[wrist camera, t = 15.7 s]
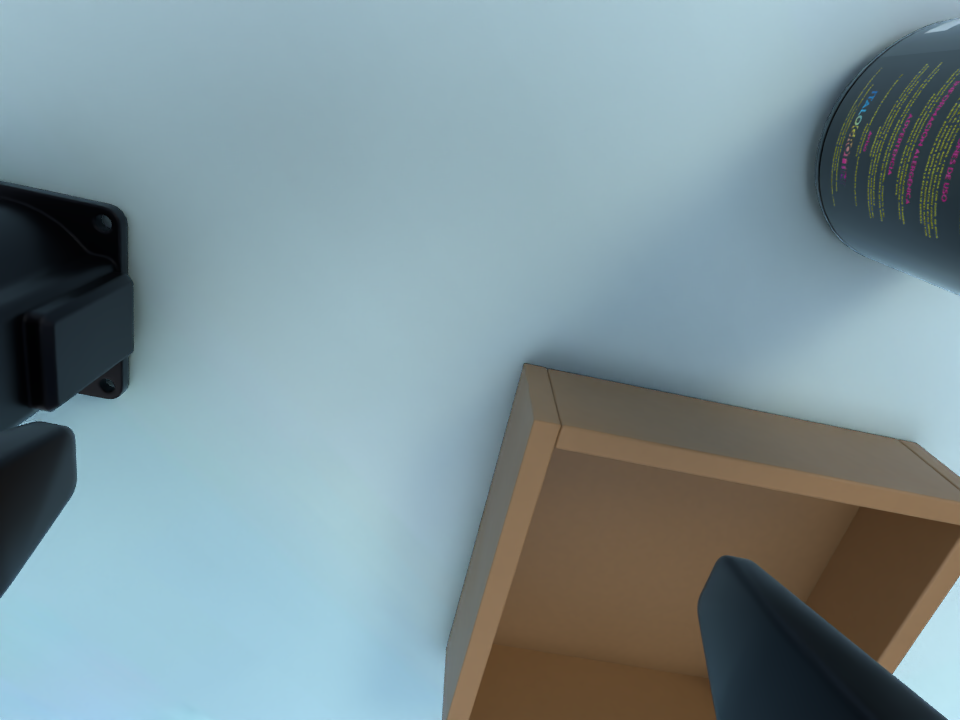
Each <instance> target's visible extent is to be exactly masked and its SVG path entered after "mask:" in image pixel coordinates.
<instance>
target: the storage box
mask: <svg viewBox="0 0 960 720" xmlns="http://www.w3.org/2000/svg"><path fill="white" fill-rule="evenodd" d="M724 555H729V556H735V557H740V558H745V559H749V560H751V561H753V562H755V563H756V564H757V565H758V566H760V567H761V568H762V569H763V570H764V571H766V572H767V573H768V574H769V575H771V576H772V577H773V578H774V579H776V580H777V581H778V582H779V583H780V584H782V585H783V586H784V587H785V588H787V589H788V590H789V591H790V592H792V593H793V594H794V595H795V596H796V597H798V598H799V599H800V600H801V601H803V602H804V603H805V604H806V605H808V606H809V607H810V608H811V609H812V610H814V611H815V612H816V613H817V614H819V615H820V616H821V617H822V618H824V619H825V620H826V621H827V622H828V623H830V624H831V625H832V626H833V627H835V628H836V629H837V630H838V631H839V632H841V633H842V634H843V635H844V636H846V637H847V638H848V639H849V640H851V641H852V642H853V643H854V644H855V645H857V646H858V647H859V648H860V649H862V650H863V651H864V652H865V653H867V654H868V655H869V656H870V657H871V658H873V659H874V660H875V661H876V662H878V663H879V664H880V665H881V666H883V667H884V668H885V669H886V670H887V671H889V672H890V673H891V674H893V672H894V671H895V669H896V668H897V667H898V665H899V664H900V662H901V661H902V659H903V658H904V656H905V655H906V653H907V652H908V650H909V649H910V648H911V646H912V645H913V643H914V642H915V640H916V639H917V637H918V636H919V634H920V633H921V631H922V630H923V629H924V627H925V626H926V624H927V623H928V621H929V620H930V618H931V617H932V615H933V614H934V613H935V611H936V610H937V608H938V607H939V605H940V604H941V602H942V601H943V599H944V598H945V596H946V595H947V594H948V592H949V591H950V589H951V588H952V586H953V585H954V583H955V582H956V580H957V579H958V578H959V576H960V477H959V476H958V475H956V474H955V473H954V472H953V471H951V470H950V469H949V468H948V467H946V466H945V465H944V464H943V463H941V462H940V461H939V460H937V459H936V458H935V457H934V456H932V455H931V454H930V453H929V452H927V451H926V450H925V449H923V448H922V447H921V446H920V445H918V444H917V443H914V442H909V441H904V440H897V439H894V438H889V437H884V436H879V435H874V434H869V433H864V432H859V431H854V430H849V429H844V428H839V427H835V426H830V425H825V424H820V423H815V422H810V421H805V420H800V419H795V418H790V417H785V416H780V415H775V414H770V413H765V412H761V411H756V410H751V409H746V408H741V407H736V406H731V405H726V404H721V403H716V402H711V401H706V400H701V399H696V398H691V397H686V396H682V395H677V394H672V393H667V392H662V391H657V390H652V389H647V388H642V387H637V386H632V385H627V384H622V383H617V382H612V381H607V380H603V379H598V378H593V377H588V376H583V375H578V374H573V373H568V372H563V371H558V370H553V369H546V368H545V367H541V366H536V365H531V364H526V363H524V365H523V369H522V372H521V376H520V380H519V383H518V387H517V391H516V394H515V398H514V402H513V405H512V409H511V413H510V416H509V420H508V424H507V427H506V431H505V435H504V438H503V442H502V446H501V449H500V453H499V457H498V460H497V464H496V468H495V471H494V475H493V479H492V482H491V486H490V490H489V493H488V497H487V501H486V504H485V508H484V512H483V515H482V519H481V523H480V526H479V530H478V534H477V537H476V541H475V545H474V548H473V552H472V556H471V559H470V563H469V567H468V570H467V574H466V578H465V581H464V585H463V589H462V592H461V596H460V600H459V603H458V607H457V611H456V614H455V618H454V622H453V625H452V629H451V633H450V636H449V640H448V644H447V647H446V659H445V676H444V694H443V711H442V720H717V719H716V714H715V709H714V705H713V699H712V694H711V688H710V682H709V677H708V671H707V665H706V660H705V654H704V648H703V643H702V637H701V631H700V626H699V620H698V613H697V605H698V600H699V596H700V594H701V592H702V590H703V588H704V586H705V583H706V581H707V579H708V577H709V575H710V573H711V571H712V569H713V567H714V565H715V563H716V561H717V560H718V559H719V558H720V557H721V556H724Z"/></svg>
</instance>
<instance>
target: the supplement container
mask: <svg viewBox="0 0 960 720" xmlns="http://www.w3.org/2000/svg"><path fill="white" fill-rule="evenodd" d="M815 184H816V191H817V196H818V201H819V204H820V207H821V210H822V212H823V214H824V216H825V219H826V221H827V223H828V224H829V226H830V228H831V229H832V231H833V232H834V233H835V234H836V236H837V237H838V238H839V239H840V240H841V241H842V242H843V243H844V244H845V245H846V246H848V247H849V248H851V249H852V250H853V251H855V252H857V253H858V254H860V255H862V256H864V257H867V258H869V259H872V260H874V261H876V262H879V263H881V264H884V265H886V266H889V267H891V268H893V269H896V270H898V271H901V272H903V273H906V274H908V275H910V276H913V277H915V278H918V279H920V280H922V281H925V282H927V283H930V284H932V285H935V286H937V287H939V288H942V289H944V290H947V291H949V292H952V293H954V294H956V295H959V296H960V18H954V19H949V20H945V21H941V22H937V23H934V24H931V25H928V26H925V27H923V28H921V29H919V30H916V31H914V32H912V33H910V34H908V35H907V36H905V37H903V38H901V39H899V40H898V41H896V42H895V43H893V44H892V45H891V46H889V47H888V48H886V49H885V50H884V51H883V52H881V53H880V54H879V55H878V56H876V57H875V58H874V59H873V60H872V61H870V62H869V63H868V64H867V65H866V66H865V67H864V68H863V69H862V70H861V71H860V72H859V73H858V74H857V76H856V77H855V78H854V79H853V80H852V81H851V82H850V84H849V85H848V86H847V88H846V89H845V90H844V92H843V93H842V94H841V96H840V98H839V99H838V101H837V102H836V104H835V106H834V107H833V109H832V111H831V113H830V115H829V117H828V119H827V122H826V124H825V126H824V129H823V132H822V135H821V138H820V141H819V145H818V150H817V155H816V163H815Z"/></svg>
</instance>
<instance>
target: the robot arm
mask: <svg viewBox="0 0 960 720" xmlns="http://www.w3.org/2000/svg"><path fill="white" fill-rule="evenodd" d="M103 215H105V216H107V217H108V218H109V219H110V220H111V223H112V227H111V229H110V228H108V227H106V226H105V225H104V224H103V221H102V216H103ZM133 350H134V312H133V282H132V280H131V278H130V277H129V276H128V225H127V219H126V217H125V215H124V213H123V212H122V211H121V210H120V209H119V208H118V207H116V206H114V205H111V204H107V203H103V202H98V201H93V200H88V199H84V198H79V197H74V196H70V195H65V194H60V193H56V192H51V191H46V190H42V189H37V188H32V187H28V186H23V185H18V184H13V183H9V182H4V181H0V598H1V597H2V596H3V594H4V593H5V591H6V590H7V589H8V587H9V586H10V585H11V583H12V582H13V581H14V579H15V578H16V576H17V575H18V573H19V572H20V570H21V569H22V568H23V566H24V565H25V563H26V562H27V560H28V559H29V557H30V556H31V555H32V553H33V552H34V550H35V549H36V547H37V546H38V544H39V543H40V541H41V540H42V539H43V537H44V536H45V534H46V533H47V531H48V530H49V528H50V527H51V526H52V524H53V523H54V521H55V520H56V518H57V517H58V515H59V514H60V513H61V511H62V510H63V508H64V507H65V505H66V504H67V502H68V501H69V499H70V498H71V496H72V494H73V492H74V490H75V487H76V482H77V466H76V444H75V435H74V433H73V431H72V430H71V429H70V428H69V427H67V426H62V425H57V424H52V423H47V422H32V423H28V424H24V425H21V426H18V425H20V424H21V423H22V422H24V421H25V420H27V419H28V418H29V417H31V416H32V415H34V414H35V413H36V412H38V411H39V410H42V411H48V412H51V411H54V410H55V409H56V408H58V407H59V406H61V405H62V404H64V403H65V402H66V401H68V400H69V399H70V398H72V397H73V396H74V395H76V394H77V393H79V394H84V395H90V396H95V397H101V398H106V399H114V398H117V397H119V396H120V395H121V394H122V393H123V392H125V391H126V389H127V388H128V385H129V355H130V354H131V353H132V352H133ZM106 379H109V380H111V381H112V382H113V383H114V385H115V387H112V386H110V385H109V384H108V383H107V382H106ZM697 613H698V620H699V626H700V631H701V637H702V643H703V648H704V654H705V660H706V665H707V671H708V677H709V682H710V688H711V694H712V699H713V705H714V709H715V714H716V719H717V720H948V719H946V718H945V717H944V716H943V715H942V714H940V713H939V712H938V711H937V710H935V709H934V708H933V707H932V706H931V705H929V704H928V703H927V702H926V701H924V700H923V699H922V698H921V697H919V696H918V695H917V694H916V693H915V692H913V691H912V690H911V689H910V688H908V687H907V686H906V685H905V684H903V683H902V682H901V681H900V680H899V679H897V678H896V677H895V676H894V675H892V674H891V673H890V672H889V671H887V670H886V669H885V668H884V667H883V666H881V665H880V664H879V663H878V662H876V661H875V660H874V659H873V658H871V657H870V656H869V655H868V654H867V653H865V652H864V651H863V650H862V649H860V648H859V647H858V646H857V645H855V644H854V643H853V642H852V641H851V640H849V639H848V638H847V637H846V636H844V635H843V634H842V633H841V632H839V631H838V630H837V629H836V628H835V627H833V626H832V625H831V624H830V623H828V622H827V621H826V620H825V619H824V618H822V617H821V616H820V615H819V614H817V613H816V612H815V611H814V610H812V609H811V608H810V607H809V606H808V605H806V604H805V603H804V602H803V601H801V600H800V599H799V598H798V597H796V596H795V595H794V594H793V593H792V592H790V591H789V590H788V589H787V588H785V587H784V586H783V585H782V584H780V583H779V582H778V581H777V580H776V579H774V578H773V577H772V576H771V575H769V574H768V573H767V572H766V571H764V570H763V569H762V568H761V567H760V566H758V565H757V564H756V563H755V562H753V561H751V560H749V559H745V558H740V557H735V556H729V555H724V556H721V557H720V558H719V559H718V560H717V561H716V563H715V565H714V567H713V569H712V571H711V573H710V575H709V577H708V579H707V581H706V583H705V586H704V588H703V590H702V592H701V594H700V596H699V600H698V605H697Z"/></svg>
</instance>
